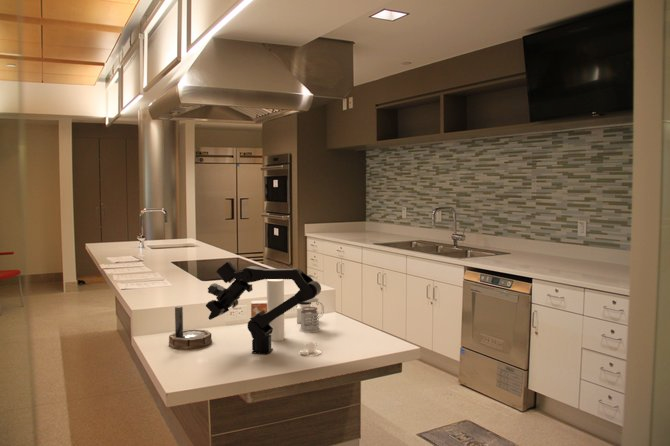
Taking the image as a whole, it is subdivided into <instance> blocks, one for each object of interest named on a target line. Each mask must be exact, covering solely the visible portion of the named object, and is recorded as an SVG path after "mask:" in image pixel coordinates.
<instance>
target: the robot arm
mask: <svg viewBox="0 0 670 446" xmlns="http://www.w3.org/2000/svg"><path fill="white" fill-rule="evenodd" d="M215 274H217V276H218V277H219V278H220V279H221V280H222V281H223V282H224V283H225V284H227V283H228V284H230V285H229V286H228V287H227V288H225V287H224V286H222V285H220V284H218V283H211V284H210V285H209V287H207V293H208V294H211V295H213V296H215V297H216V299H212V300H210V301H208V302H207V303H206V304H205V307H206V308H207V309H208V311H210V313H209V316H208V319H209V321H210V320H213V319H215V318H217V317H219V316H221V315H224V314H225V313H227V312H229V311H230V309H229V308H232V309H234V308H236V307H237V306H238V305H239V300H240V298H241V296H242V295H243V293H245V291H246V292H248V293H250V292H253V290H254V289H253V284H252V283H254V282H259V281H263V280H267V279H284V280H292V281H293V282H294V283H295V285H296V286H297V289H299V290H298V291H297V292H296V293H295V294H294V295H293V296H291V297H290V298H289V297H288V299H286V300H284V302H283V303H282V304H280V305H279V306H277V307H275V308H274V309H272V310H271V311H269V312H266V313H265V311H264V310H263V311H261V312H259V313H258V314H256V315H255V316H253V317H250V318H249V319H250V320H249V321H248V322H247V330H248V331H249V332H250V335H251V338H252V340H251V343H252V344H251V348H252V351H251V354H259V355H268V354H270V353H271V352H272V351H273V350H274V348H273V347H272V341H271V335H270V334H271V333H272V331H273V328H272V327H271V326H270V325H269V324H270V323H271V322H272V321H273V320H274V319H275V318H277V317H279V316H280V315H282V314H283V313H284V314H285V313H287V312H288V311H289V310H292V309H293V308H294V307H296V306H298V305H299V303H301V302H304V301H307V300H310V299H312V298H314V297H317V296H319V295H320V293H321V292H322V286H321V284H320V282H318V281H315V280H314V279H313V278H312V276H311V277H309V276H308V275H309V274H306V273H305V272H304V271H303V270H302V269H300V268H299V267H296V268H264V267H261V266H255V265H252V266H251V265H250V266H247V267H245V268H243V269H239V270H238V269H237V268H236V267H235V266H234V265H233V264H232V263H231V262H230V261H228V260H227V261H226V262H225V263H224V264H223V265H221V266H220V267H218V269H217V270H216V271H215Z"/></svg>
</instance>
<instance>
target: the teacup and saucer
mask: <svg viewBox="0 0 670 446" xmlns="http://www.w3.org/2000/svg"><path fill="white" fill-rule="evenodd" d="M317 346H318V344H317V343H316V342H314V341H308V342H306V349H301V350H299V354H300V355H302V356H307V357H308V356H309V357H310V356H314V357H315V356H318V355H320V354H322V351H321V350H319V349H317V348H318V347H317ZM314 352H317V353H315V354H314Z"/></svg>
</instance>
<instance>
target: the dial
mask: <svg viewBox="0 0 670 446" xmlns="http://www.w3.org/2000/svg"><path fill="white" fill-rule="evenodd" d="M183 309H184V308H183V306H175V307H174V324H175V325H174V326H175V327H174V329H175V330H174V331H175V332H174V333H175V336H174V337H175V338H176V339H195V338H201V337H204V336H205V335H206V333H205V332H201V331H188V332H183V331H184V312H183Z"/></svg>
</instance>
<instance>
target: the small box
mask: <svg viewBox="0 0 670 446" xmlns="http://www.w3.org/2000/svg"><path fill="white" fill-rule="evenodd" d="M250 303H251V304H250V305H251V306H250V307H251V308H250V316H251V317H253V316H255V315H256V314H258V313H259V312H261V311H263V310H264V311H265V313H266V312H267V299H266V300H264V299H263V300H260V299H259V300H251V301H250ZM251 317H250V318H251Z"/></svg>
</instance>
